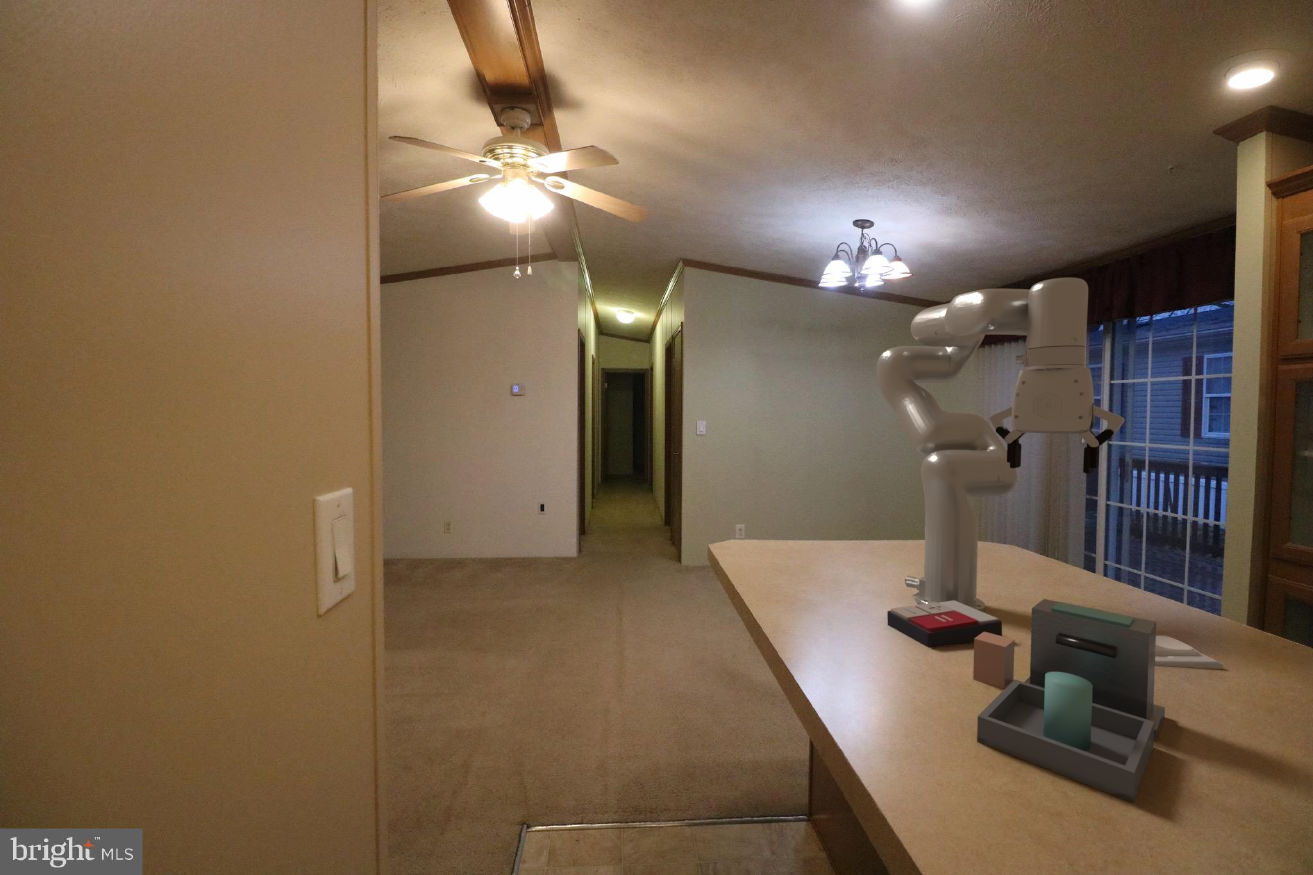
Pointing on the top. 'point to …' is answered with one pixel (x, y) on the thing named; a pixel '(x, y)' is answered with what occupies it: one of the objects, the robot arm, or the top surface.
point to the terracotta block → (993, 659)
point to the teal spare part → (1068, 709)
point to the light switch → (1181, 654)
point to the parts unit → (1098, 655)
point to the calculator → (942, 623)
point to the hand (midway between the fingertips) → (1050, 470)
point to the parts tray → (1104, 766)
